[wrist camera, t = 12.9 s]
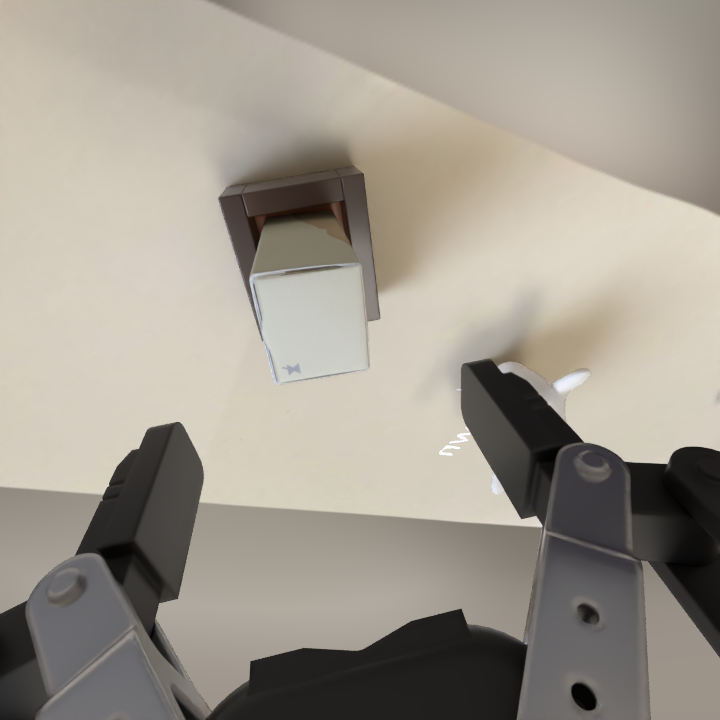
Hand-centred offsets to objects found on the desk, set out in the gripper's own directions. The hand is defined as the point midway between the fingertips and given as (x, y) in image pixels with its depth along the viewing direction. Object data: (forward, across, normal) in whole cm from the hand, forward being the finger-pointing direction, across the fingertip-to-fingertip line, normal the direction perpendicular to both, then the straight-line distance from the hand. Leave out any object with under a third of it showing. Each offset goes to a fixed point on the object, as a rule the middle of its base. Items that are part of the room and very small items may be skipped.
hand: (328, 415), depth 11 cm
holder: (+17, 0, 0) cm, 17 cm away
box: (+16, 0, 0) cm, 17 cm away
